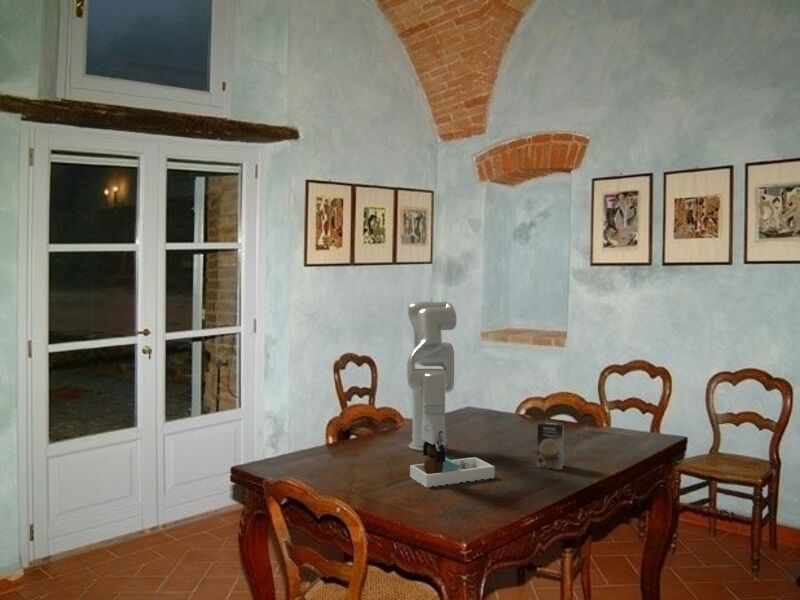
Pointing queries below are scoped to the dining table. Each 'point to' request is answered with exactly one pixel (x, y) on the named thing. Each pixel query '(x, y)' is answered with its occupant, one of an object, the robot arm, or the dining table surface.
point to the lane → (454, 473)
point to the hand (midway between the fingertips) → (434, 458)
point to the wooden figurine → (432, 461)
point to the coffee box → (550, 444)
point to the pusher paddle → (454, 465)
